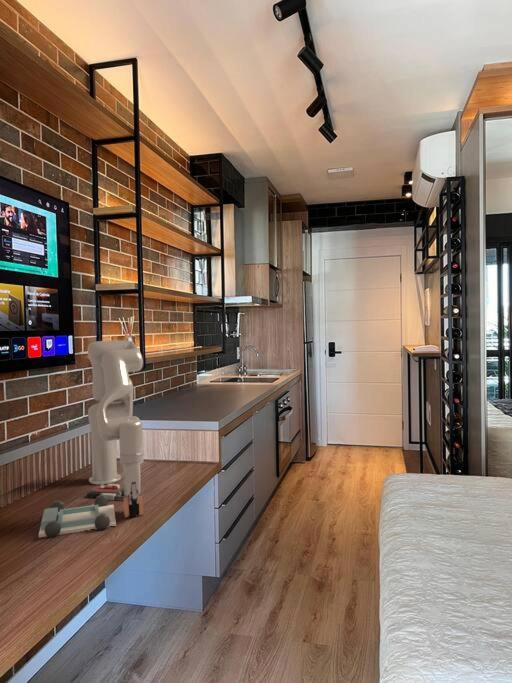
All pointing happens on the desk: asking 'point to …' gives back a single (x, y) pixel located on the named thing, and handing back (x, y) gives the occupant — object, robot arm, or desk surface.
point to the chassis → (77, 518)
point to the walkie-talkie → (108, 491)
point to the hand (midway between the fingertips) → (133, 512)
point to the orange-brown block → (127, 502)
